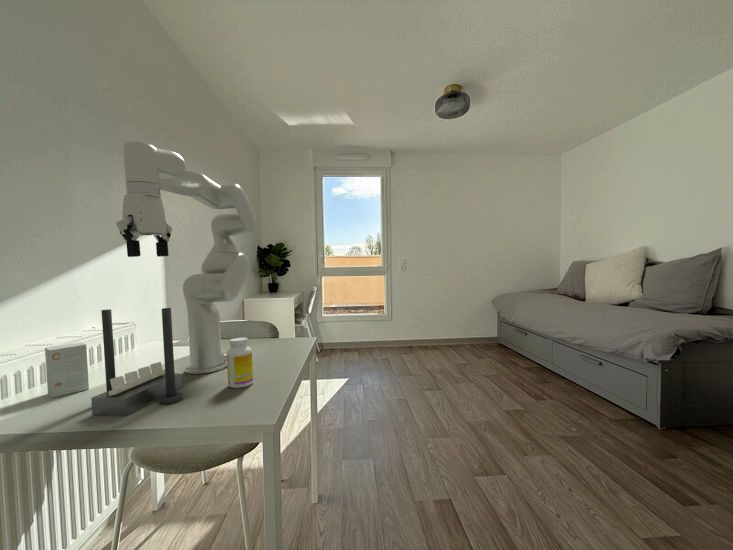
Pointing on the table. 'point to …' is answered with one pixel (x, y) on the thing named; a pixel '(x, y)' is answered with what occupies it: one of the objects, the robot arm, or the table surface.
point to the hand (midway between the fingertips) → (149, 256)
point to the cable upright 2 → (169, 361)
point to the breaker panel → (132, 397)
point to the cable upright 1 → (108, 347)
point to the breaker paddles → (135, 378)
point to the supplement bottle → (239, 363)
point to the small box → (66, 369)
